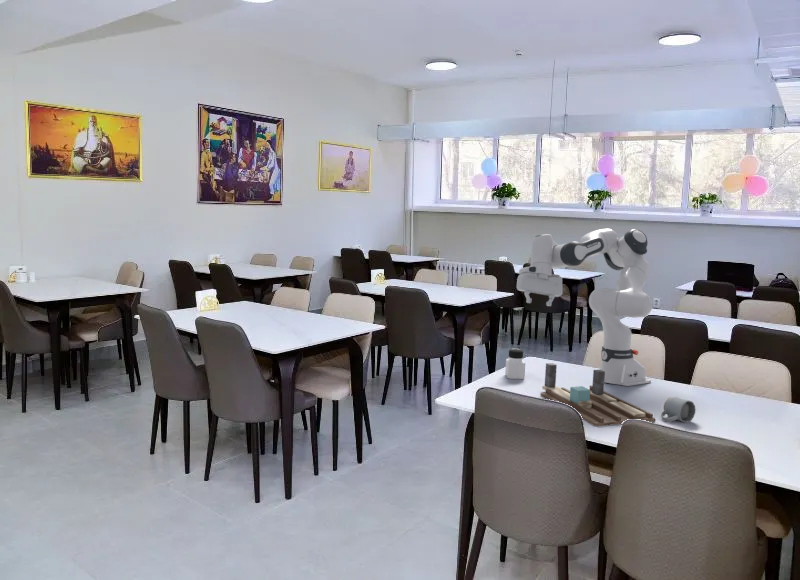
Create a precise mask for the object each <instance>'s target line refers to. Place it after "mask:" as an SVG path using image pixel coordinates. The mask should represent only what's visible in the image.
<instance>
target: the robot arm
mask: <svg viewBox="0 0 800 580" xmlns="http://www.w3.org/2000/svg"><path fill="white" fill-rule="evenodd" d="M647 247H648V237H647V236H646V234H645V233H644V232H643V231H641V230H639V229H637V228H633V229H630V230H629V231H627V232H625V234H624V235H623V236H621V237H618V233H617V232H616V231H615V230H613V229H611V228H601V229H596V230H592V231H590V232H588V233H586V234H584V235H583V236H582V237H581V238H580V241H570V242H566V243H562V244H558V243H557V242H556V241H555V240H554V239H553V235H552V234H550V233H541V234H537V235H535V236H534V238H533V239H532V242H531V254H530V255H531V261H530V265H529V266H525V267H522V268H519V270H518V273H519V274H518V276H517V279H516V280H517V281H516V290H517V291H520V292H523V293H524V296H525V298H526V301H525V302H526V303H527V304H532V300H533V299H532V297H530V294H531V293H532V294H537V295H543V296H548V300H547V301H546V303H545V305H546V306H547V307H552V303H553V301H554V299H555V298H559V297H562V295H563V292H564V291H563V290H564V289H563V277H562V276H560V274H555V273H553V272H552V271H553V270H552V269H561V268H562V269H563V268H566V267H567V268H568V267H576V266H580V265H581V264H582V263H583V262H584V261H585V259H587V258H588V257H589V258H592V257H598V256H601V255H603V258H604V260H605V263H606V265H607V266H608V267H609V268H610V269H612V270H614V271H620V273H619V275H618V277H617V279H616V281H615V286H616V288H615V289H614V288H597V289H596V288H595V289H594V290H593V291H592V292H591V293H590V295H589V297H588V304H589V308H590V309H591V310H592V312H594V313H595V315H596V316H597V317H598V319H599V320H600V323H601V325H602V332H603V333H602V334H603V342H602V344H603V345H602V346H601V351H600V352H601V363H600V366H599V370H603V371H605V379H604V383H608V384H612V385H621V386H624V387H625V386H626V387H629V386H637V385H643V384H651V383H652V380H651V378H649V377H647V375H646V368H645V366H644V365H642V363H640V362H639V361H638V360H637V359H636V358H635V357H634V356H638V355H639V350H636V349H632V348H631V346H632V345H631V344H632V331H631V329H630V328H629V327H628V326H627V325H626V324H624V323H622V321H621V319H620V318H619V317H625V318H627V317H628V318H635V319H636V318H645V317H647V316H649V315H650V313H651V312H652V309H653V300H652V298H651V297H650V295H649V294H648V293H646V292H644V290H643V289H644V286H645V284H646V281H647V280H648V277H649V273H650V263H649V262H648V260H647V259H645V258H644V255H646V254H647V253H648V249H647Z"/></svg>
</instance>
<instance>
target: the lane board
mask: <svg viewBox="0 0 800 580" xmlns="http://www.w3.org/2000/svg"><path fill="white" fill-rule="evenodd" d="M560 389H562V390H564V391H566V392H568V393H570V390H569V389H567V388H565V387H560ZM588 389H589V390H590V400H589V401H592V407H591V408H584V407H582V406H580V405H578V404H576V403H574V402H573V401H571V400H569V399H567V398H565V397H563V396H561V395H559V394H558V393H556V392H554V391H552V390H550V389H546V390H545V392H540V396H541V397H542V398H544V399H546V400H548V399H550V400H554V401H559V402H562V403H565V404H568V405H570V406H572V407H573V408H575V409H576V410H577V411H578V412H579V413H580V414H581V416H582V418H583V419H582V420H583V421H585V422H587V423H589V424H590V425H591V426H594V427H604V426H615V425H616V426H617V425H622V424H621V423H622V422H623V421H625V420H627V419H641V420H646V421H650V422H656V418H655V417H654V414H653V413H651V412H650V411H647V410H645V409H643V408H641V407H639V406H636V405H634V404H632V403H631V402H628V401H627V400H624V399H621V398H619V397H618V396H615V395H614V394H612V393H609V392H607V391H605V390H604V394H606V395H608V396H610V397H612V398H614V399H616V400H617V402H619V401H621V402H623V403H625V404H627V405H629V406H631V407H633V408H635V409H638V410H640V411H642V412H644V413H646V416H645V417H636V415H634V414H632V413H630V412H628V411H626V410H624V409H622V408H620V407H618V406H616V405H614V404H612V403H610V402H608V401H606V400H604V399H602V398H600V397H598V396H596V395H593V394H591V393H592V385H589V388H588ZM550 400H549V401H550Z"/></svg>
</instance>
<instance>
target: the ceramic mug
mask: <svg viewBox="0 0 800 580" xmlns="http://www.w3.org/2000/svg"><path fill="white" fill-rule="evenodd" d="M696 410H697V409H696V405H695V403H694V402H693V401H691V400H689V399H685V398H681V397H677V396H676V397H675V396H671V397H668V398H667V399H666V401H664V404H663V411H661V413H660V418H661V419H662V421H664V422H667V423H668V422H674V421H676V420H677V421H680V422H682V423H690V422H691V421H693V419H694V417H695V414H696ZM666 415H667V416H668V417H665V416H666Z"/></svg>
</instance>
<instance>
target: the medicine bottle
mask: <svg viewBox="0 0 800 580" xmlns="http://www.w3.org/2000/svg"><path fill="white" fill-rule="evenodd" d="M525 370H526V362H525V360H524V351H523V349H519V348H511V349H509V350H508V358H506V359H505V373H504V374H505V376H506V378H507V379H508V378H509V380H510V379H511V380H525V377H526V376H525V374H526V373H525V372H526V371H525Z"/></svg>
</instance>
